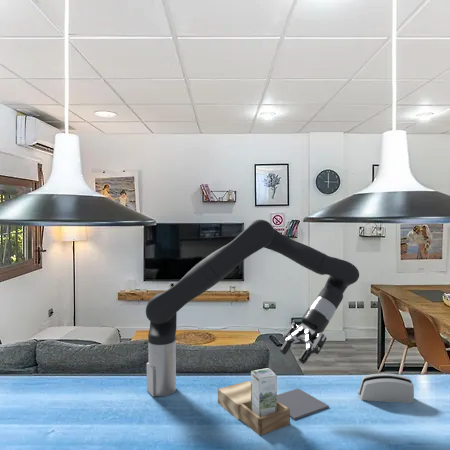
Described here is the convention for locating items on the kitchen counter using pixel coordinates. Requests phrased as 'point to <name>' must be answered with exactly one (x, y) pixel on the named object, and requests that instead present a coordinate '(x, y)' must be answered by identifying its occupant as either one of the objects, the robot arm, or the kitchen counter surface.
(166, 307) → the robot arm
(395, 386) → the grey arched block
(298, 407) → the mat
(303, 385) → the kitchen counter surface
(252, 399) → the syrup box
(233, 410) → the wooden drawer box
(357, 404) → the kitchen counter surface
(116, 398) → the kitchen counter surface
